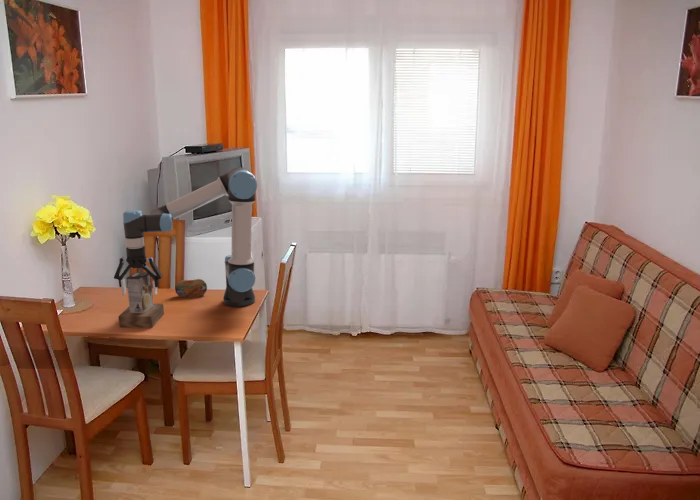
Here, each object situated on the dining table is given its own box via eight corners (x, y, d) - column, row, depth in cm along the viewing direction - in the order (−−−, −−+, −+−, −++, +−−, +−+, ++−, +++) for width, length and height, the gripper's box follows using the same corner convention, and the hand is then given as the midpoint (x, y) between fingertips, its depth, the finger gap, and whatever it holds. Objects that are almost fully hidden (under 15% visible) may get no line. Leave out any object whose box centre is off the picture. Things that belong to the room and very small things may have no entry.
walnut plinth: (164, 313, 266) (163, 303, 265) (152, 327, 251) (151, 316, 250) (133, 313, 266) (132, 303, 265) (119, 327, 251) (118, 316, 250)
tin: (175, 297, 288) (174, 281, 286) (176, 295, 291) (175, 279, 289) (207, 295, 291) (206, 279, 288) (207, 293, 294) (206, 277, 291)
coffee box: (140, 305, 262) (137, 271, 258) (153, 306, 261) (150, 271, 257) (129, 313, 254) (125, 277, 250) (143, 314, 253) (139, 278, 248)
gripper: (167, 244, 254) (171, 291, 259) (109, 244, 254) (114, 291, 259) (161, 248, 246) (165, 297, 252) (102, 248, 247) (107, 296, 252)
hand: (139, 294), depth 256 cm, fingers open, 13 cm apart
